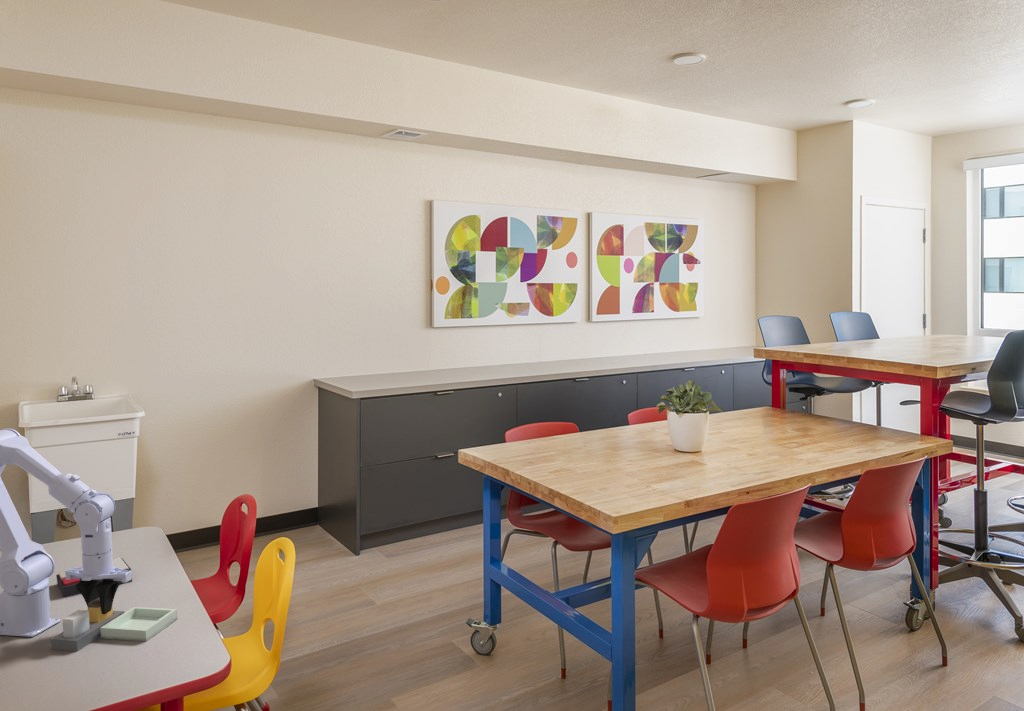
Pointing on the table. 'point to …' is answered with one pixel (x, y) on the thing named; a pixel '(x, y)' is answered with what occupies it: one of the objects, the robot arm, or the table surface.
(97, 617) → the yellow rectangular block
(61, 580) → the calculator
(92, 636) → the block
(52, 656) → the table surface
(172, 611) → the parts tray
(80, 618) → the block
